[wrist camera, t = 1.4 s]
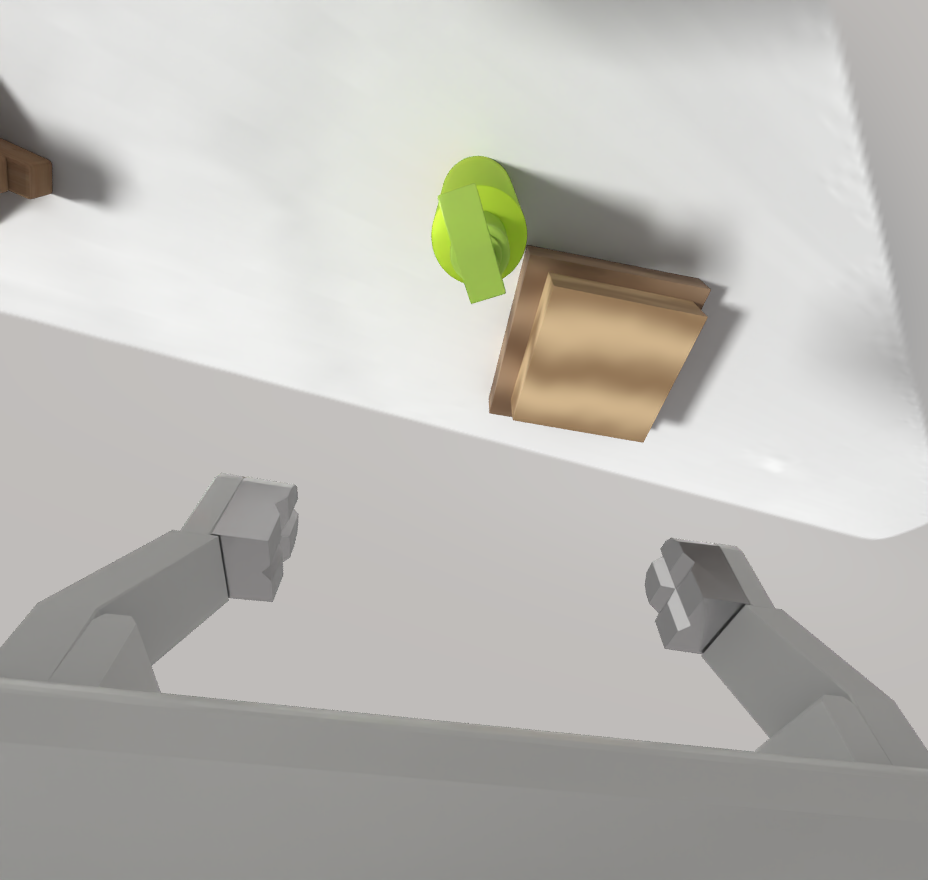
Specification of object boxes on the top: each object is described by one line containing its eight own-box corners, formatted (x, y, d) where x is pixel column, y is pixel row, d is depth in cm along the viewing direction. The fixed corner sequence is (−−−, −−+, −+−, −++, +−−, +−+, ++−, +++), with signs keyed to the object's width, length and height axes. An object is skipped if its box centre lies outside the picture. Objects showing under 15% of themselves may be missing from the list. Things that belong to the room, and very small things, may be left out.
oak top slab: (548, 271, 42) (553, 285, 39) (692, 301, 43) (707, 317, 40) (510, 400, 49) (512, 420, 46) (633, 422, 50) (643, 442, 48)
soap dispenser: (498, 129, 38) (518, 168, 22) (520, 221, 42) (550, 311, 26) (427, 156, 39) (396, 212, 23) (454, 243, 43) (444, 342, 27)
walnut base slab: (526, 242, 43) (530, 254, 41) (696, 276, 45) (711, 289, 42) (488, 395, 53) (489, 413, 50) (630, 418, 54) (638, 437, 52)
